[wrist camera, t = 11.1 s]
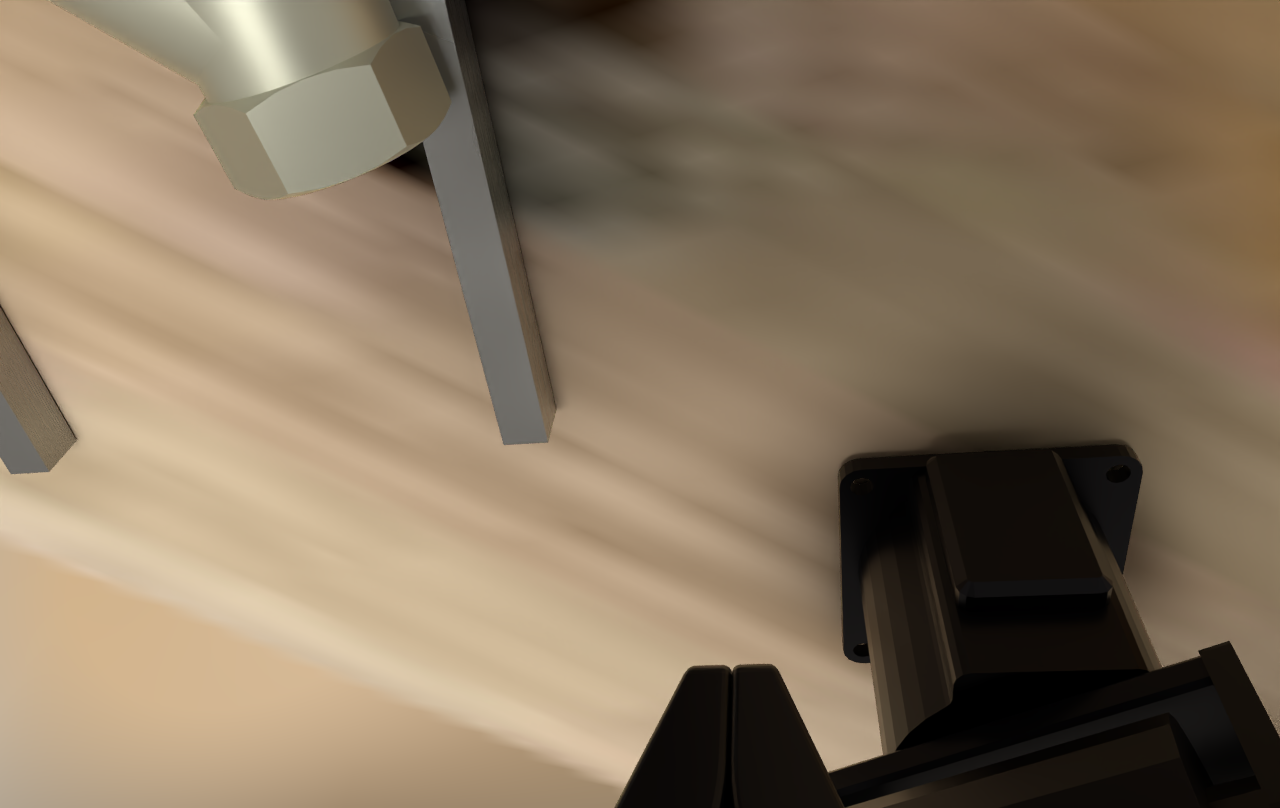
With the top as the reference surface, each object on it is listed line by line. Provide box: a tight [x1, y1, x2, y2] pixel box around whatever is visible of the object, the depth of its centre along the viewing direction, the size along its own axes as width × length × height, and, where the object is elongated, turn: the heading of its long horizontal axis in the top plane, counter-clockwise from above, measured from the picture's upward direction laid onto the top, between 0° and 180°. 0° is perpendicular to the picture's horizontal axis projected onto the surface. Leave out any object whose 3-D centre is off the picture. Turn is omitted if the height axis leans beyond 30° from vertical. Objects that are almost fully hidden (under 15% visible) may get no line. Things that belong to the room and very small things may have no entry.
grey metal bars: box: [0, 0, 556, 474], centre depth 18 cm, size 19×14×2 cm
